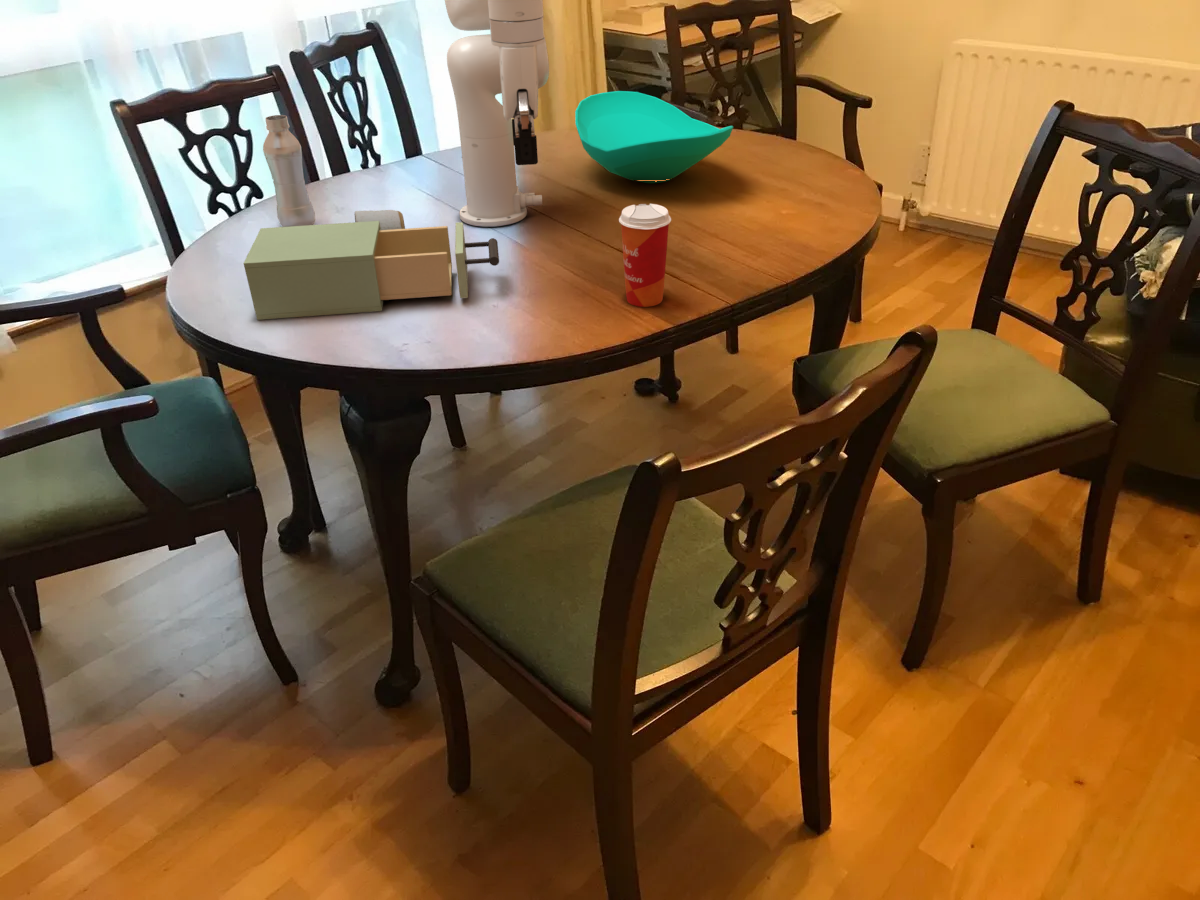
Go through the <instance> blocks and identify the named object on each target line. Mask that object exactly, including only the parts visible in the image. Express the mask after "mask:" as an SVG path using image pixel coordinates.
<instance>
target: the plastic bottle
mask: <svg viewBox="0 0 1200 900" xmlns="http://www.w3.org/2000/svg"><path fill="white" fill-rule="evenodd" d="M265 124H266V126H265V127H266V131H268V133H267V135H266V137H265V138H264V142H263V145H262V152H263V155H264V158H265V160H266V164H267V166H268V168H269V171H270V175H271V179H272V182H273V187H274V192H275V200H276V217H277V220H278V222H279V225H280V227H290V226H306V225H315V221H316V213H315V210H314V206H313V204H312V202H311V199H310V196H309V192H308V189H307V186H306V182H305V178H304V176H305V174H304V170H303V169H304V168H303V151H302V146H301V143H300V141H299V140H298V138H296V136H295V135H294V134H293V133H291V131H290V130H289V129H290V124H289V120H288V116H287V115H284V114H276V115H275V114H274V115H269V116H266V117H265Z"/></svg>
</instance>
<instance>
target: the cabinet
mask: <svg viewBox="0 0 1200 900" xmlns="http://www.w3.org/2000/svg"><path fill="white" fill-rule="evenodd" d="M379 230H381V227H380V221H369V222H355V221H354V222H339V223H324V224H313V225H306V226H290V227H282V226H278V227H277V226H276V227H262V228H260V229H259V231H258V233H257V235H256V237H255V239H254V241H253V243H252V245H251V247H250V249H249V252H248V253H247V255H246V257H245V260H244V261H243V267H244V271H245V276H246V279H247V284H248V288H249V291H250V296H251V301H252V304H253V309H254V313H255V317H256V320H257V321H261V320H275V319H287V318H290V319H291V318H305V317H317V316H329V315H330V316H331V315H345V314H358V313H371V312H382V310H383V307H384V306H383V305H384V300H381V299H380V293H379V287H378V281H377V274H376V268H375V262H374V254H375V249H376V244H377V239H378V234H379Z"/></svg>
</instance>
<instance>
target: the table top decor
mask: <svg viewBox="0 0 1200 900" xmlns="http://www.w3.org/2000/svg"><path fill="white" fill-rule="evenodd" d="M574 113H575V114H574V118H575V120H574V121H575V122H574V123H575V127H576V130H577V133H578V137H579V139H580V143H581V145H582V148H583V150H585V152H586V153H587V154H588V155H589V156H590V158H591V159H592V160H594V161H595V162H596V163H597V164H599V165H600V166H602V167H603V168H604V169H605V170H606V171H607V172H609V173H611V174H614V175H616V176H619V177H622V178H624V179H627V180H630V181H634V180H666V179H671V178H673V179H675V178H676V177H677V176H679V175H681V174H682V173H684V172H686V171H687V170H688V169H690V168H692V167H693V166H694V165H696V164H698V163H699V162H700V161H702V160H703V159H705V158H706V157H708V156H709V155H710V154H712V153H713V152H714V151H716V150H717V149H718V148H720V147H721V146H722V145H723V144H724V143H725V142H726V141H727V140H728V139H729V138H730V137H731V134H732V132H733V129H734V126H733V125H728V126H725V127H722V128H718V127H717V126H714V125H711V124H709V123H706V122H704V121H702V120H698V119H695V118H692V117H691V116H689V115H688V114H686V113H685V112H684V111H682V110H681V109H679V108H678V107H677V106H675V105H673V104H671V103H669V102H666V100H662V99H660V98H658V97H656V96H652V95H649V94H646V93H642V92H639V91H628V90H627V91H626V90H616V91H614V90H613V91H607V92H605V91H604V92H600V93H599V92H598V93H594V94H591V95H589V96H587V97H585V98H583V99H582V100H580V102H578V105H577V106H576V109H575V112H574ZM671 180H672V179H671ZM637 182H639V183H642V184H643V183H644V184H662V183H666V182H670V180H666V181H657V182H655V181H637Z"/></svg>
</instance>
